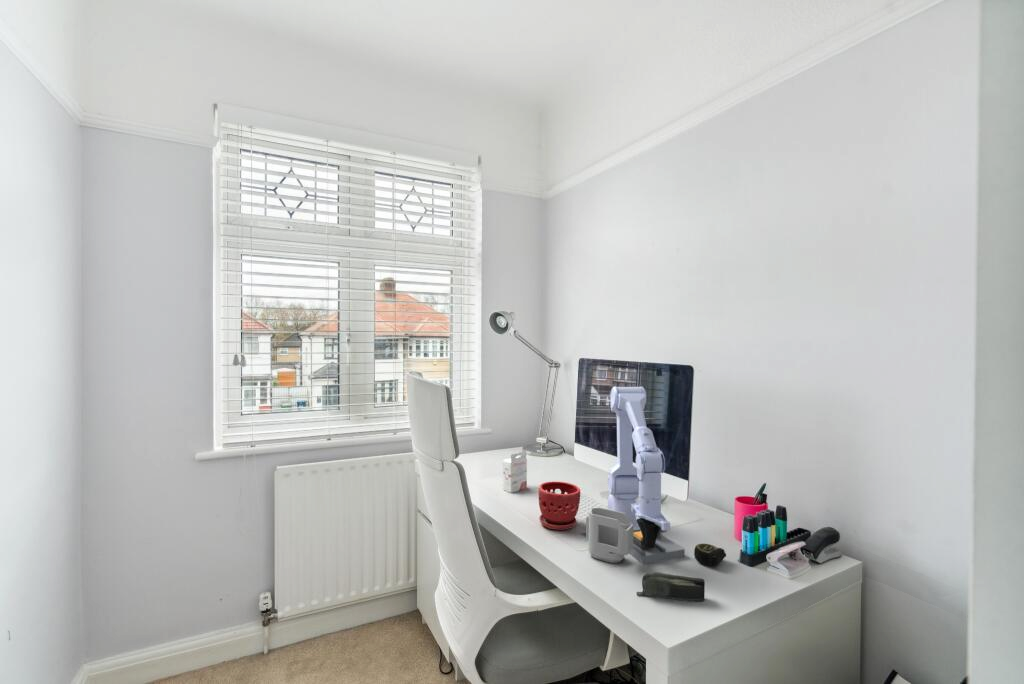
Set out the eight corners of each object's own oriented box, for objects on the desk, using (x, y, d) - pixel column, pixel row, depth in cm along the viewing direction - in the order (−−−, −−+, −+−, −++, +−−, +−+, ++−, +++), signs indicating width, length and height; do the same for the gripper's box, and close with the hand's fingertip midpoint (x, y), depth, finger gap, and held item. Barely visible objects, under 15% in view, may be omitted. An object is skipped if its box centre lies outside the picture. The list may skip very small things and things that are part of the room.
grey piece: (626, 569, 119) (626, 522, 119) (582, 556, 126) (582, 511, 126) (635, 558, 125) (635, 514, 124) (592, 547, 131) (592, 504, 131)
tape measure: (716, 571, 118) (716, 556, 118) (689, 562, 123) (689, 548, 123) (726, 562, 123) (726, 548, 123) (700, 553, 128) (700, 540, 128)
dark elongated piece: (703, 575, 107) (636, 569, 109) (706, 582, 104) (637, 575, 106) (702, 597, 107) (635, 590, 109) (706, 604, 104) (636, 597, 106)
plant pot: (548, 535, 139) (548, 495, 139) (532, 519, 151) (532, 482, 151) (587, 530, 143) (587, 491, 143) (569, 514, 156) (569, 478, 155)
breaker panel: (608, 537, 138) (608, 520, 138) (647, 531, 142) (647, 514, 142) (642, 564, 122) (642, 544, 122) (684, 556, 126) (684, 537, 126)
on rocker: (640, 530, 138) (639, 523, 138) (650, 528, 139) (649, 522, 139) (656, 533, 130) (655, 526, 131) (666, 531, 132) (665, 525, 132)
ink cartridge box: (518, 485, 186) (518, 448, 186) (527, 488, 183) (527, 450, 183) (502, 490, 181) (502, 452, 180) (510, 493, 177) (511, 454, 177)
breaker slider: (632, 543, 129) (632, 532, 129) (644, 541, 130) (644, 530, 130) (640, 549, 125) (640, 538, 125) (653, 547, 126) (653, 536, 126)
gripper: (622, 489, 130) (621, 537, 130) (653, 507, 116) (653, 561, 117) (643, 486, 132) (643, 534, 133) (677, 504, 119) (676, 557, 119)
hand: (649, 546), depth 125 cm, fingers closed
